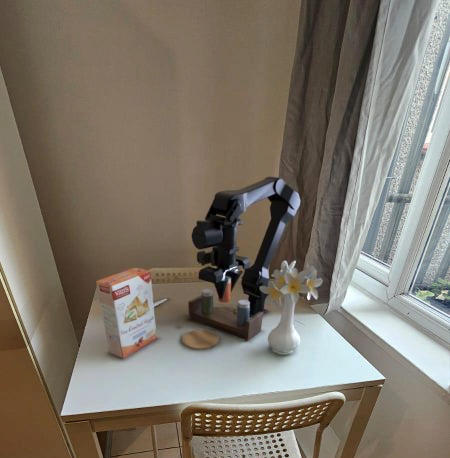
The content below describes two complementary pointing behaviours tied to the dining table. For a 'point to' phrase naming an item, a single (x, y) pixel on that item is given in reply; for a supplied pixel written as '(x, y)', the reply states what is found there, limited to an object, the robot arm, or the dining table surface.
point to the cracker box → (127, 310)
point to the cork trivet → (200, 339)
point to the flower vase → (288, 303)
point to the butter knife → (159, 302)
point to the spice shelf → (225, 320)
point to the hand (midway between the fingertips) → (224, 296)
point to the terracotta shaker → (227, 292)
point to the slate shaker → (243, 312)
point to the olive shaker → (207, 301)
